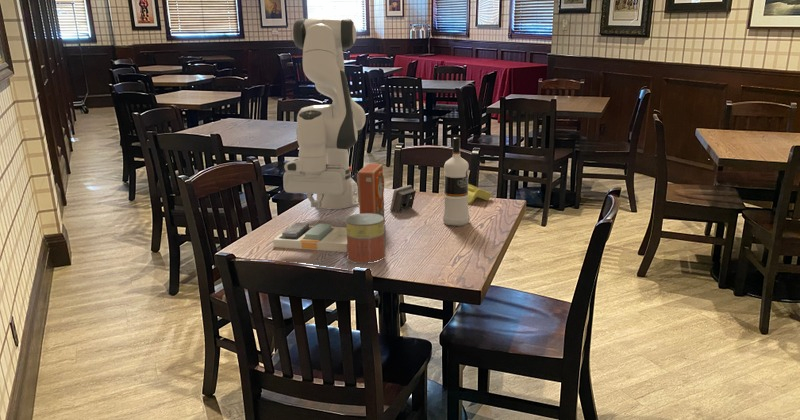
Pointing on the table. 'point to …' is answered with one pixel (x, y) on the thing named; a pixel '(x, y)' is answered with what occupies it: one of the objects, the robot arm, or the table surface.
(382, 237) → the canned food
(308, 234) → the panel
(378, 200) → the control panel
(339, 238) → the cream compartment tray
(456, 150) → the vodka
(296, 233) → the dark grey long block
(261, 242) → the table surface
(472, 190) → the plastic component
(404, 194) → the electrical switch
